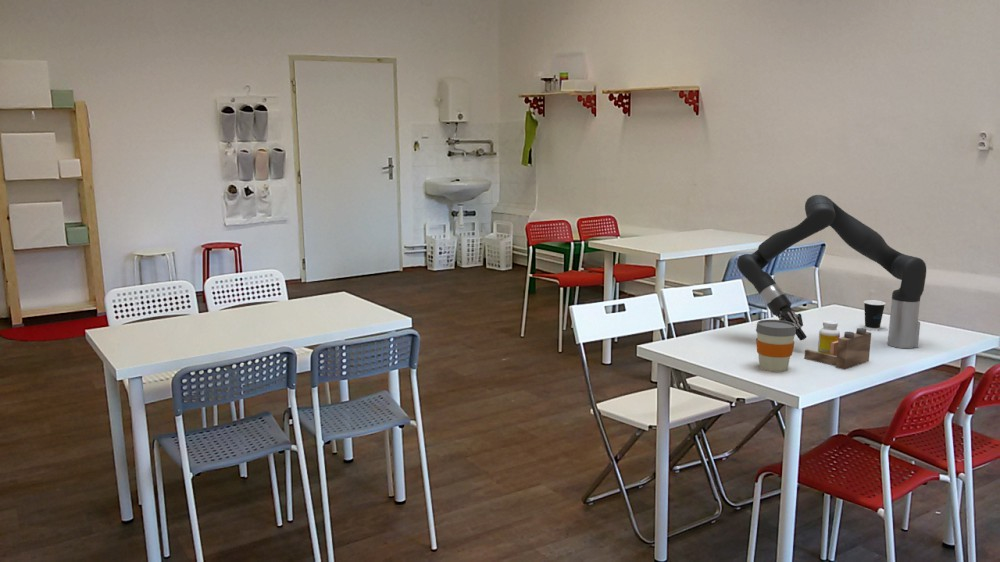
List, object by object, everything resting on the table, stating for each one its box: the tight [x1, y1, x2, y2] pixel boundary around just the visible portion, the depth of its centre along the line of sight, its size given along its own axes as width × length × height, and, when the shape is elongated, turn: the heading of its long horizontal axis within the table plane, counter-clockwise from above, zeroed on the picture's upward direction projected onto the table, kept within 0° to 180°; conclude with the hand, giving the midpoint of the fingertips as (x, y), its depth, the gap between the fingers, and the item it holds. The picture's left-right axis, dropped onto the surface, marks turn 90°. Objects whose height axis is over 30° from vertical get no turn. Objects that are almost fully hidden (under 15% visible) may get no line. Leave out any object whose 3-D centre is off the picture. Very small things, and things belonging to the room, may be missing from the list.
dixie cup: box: [863, 299, 886, 332], centre depth 321 cm, size 8×8×11 cm
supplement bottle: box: [817, 320, 841, 354], centre depth 280 cm, size 7×7×13 cm
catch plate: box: [830, 341, 838, 356], centre depth 277 cm, size 1×9×6 cm, turn 129°
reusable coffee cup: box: [755, 319, 796, 372], centre depth 268 cm, size 13×12×15 cm
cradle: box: [804, 327, 872, 370], centre depth 277 cm, size 16×16×12 cm
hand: (803, 338), depth 286 cm, fingers closed
